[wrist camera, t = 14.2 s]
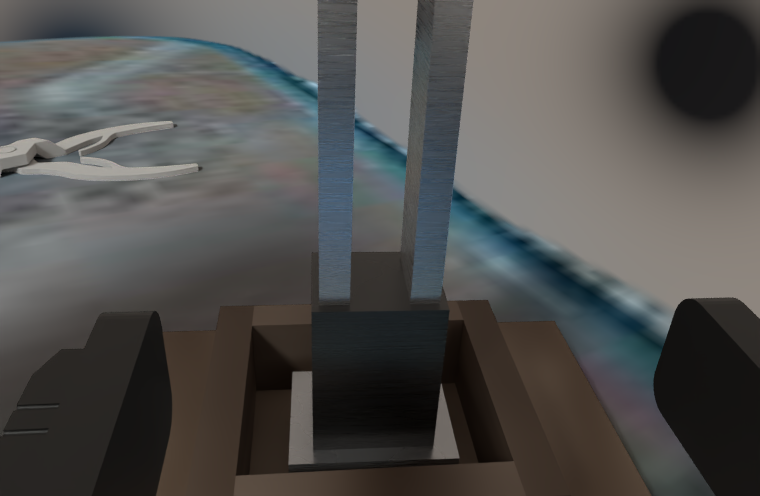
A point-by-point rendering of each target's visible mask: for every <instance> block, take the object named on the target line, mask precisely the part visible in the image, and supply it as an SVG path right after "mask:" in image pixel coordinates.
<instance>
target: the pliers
mask: <svg viewBox="0 0 760 496" xmlns="http://www.w3.org/2000/svg"><path fill="white" fill-rule="evenodd" d="M169 128H173V122H172V121H165V122H149V123H139V124H131V125H124V126H117V127H112V128H106V129H101V130H97V131H92V132H88V133H84V134H80V135H77V136H74V137H71V138H68V139H65V140H63V141H61V142H58V143H56V144H54V143H52V142H50V141H48V140H43V139H38V138H30V139H24V140H19V141H16V142H14V143H12V144H10V145H7V146H1V147H0V176H1V172H15V173H19V174H22V175H28V174H45V175H57V176H62V177H67V178H72V179H79V180H90V181H128V180H144V179H155V178H163V177H171V176H176V175H182V174H187V173H192V172H197V171H198V165H197V164H185V165H173V166H160V167H137V168H126V167H123V166H120V165H118V164H116V163H114V162H112V161H108V160H105V159H99V158H92V157H81V158H80V161H81V163H84V164H93V165H99V166H103V167H95V166H89V165H82V164H77V163H71V162H45V163H38V162H37V161H36V160H34V159H33V157H34V156H35V157H41V158H45V159H48V158H53V157H58V156H63V155H67V154H69V153H72V152H74V151H76V150H78V149H81V148H83V147H86V146H88V145H91V144H93V143H96V144H94V145H91V146H89V147H86V148H84V149H81V150H78V151H79V155H80V156H84V155H87V154H90V153H92V152H95V151H97V150H100V149H102V148H103V147H105V146H106V145H107V144H108V143H109V142H110V141H111V140H113V139H114V138H117V137H121V136H126V135H131V134H136V133H142V132H148V131H155V130H161V129H169Z"/></svg>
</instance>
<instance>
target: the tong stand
mask: <svg viewBox="0 0 760 496" xmlns="http://www.w3.org/2000/svg"><path fill="white" fill-rule="evenodd" d="M447 303H448V306H449V310H450V312H449V320H448V328H447V337H446V345H445V354H444V362H443V370H442V379H441V384H442V388H443V392H444V396H445V400H446V405H447V409H448V413H449V417H450V421H451V425H452V429H453V433H454V437H455V441H456V445H457V450H458V454H459V458H460V459H459V464H451V465H432V466H413V467H394V468H375V469H355V470H336V471H317V472H298V473H289V467H288V463H289V440H290V418H291V396H292V374H293V372H304V371H312V323H311V304H301V305H259V306H220V312H219V317H218V323H217V328H216V330H210V331H174V332H163V339H164V345H165V352H166V358H167V365H168V371H169V378H170V384H171V391H172V424H171V431H170V437H169V441H168V445H167V450H166V454H165V459H164V463H163V467H162V472H161V476H160V481H159V485H158V489H157V494H156V496H651V494H650V492H649V490H648V488H647V487H646V485H645V483H644V481H643V479H642V478H641V476H640V474H639V472H638V470H637V469H636V467H635V465H634V463H633V461H632V460H631V458H630V456H629V454H628V452H627V451H626V449H625V447H624V445H623V443H622V442H621V440H620V438H619V436H618V434H617V433H616V431H615V429H614V427H613V425H612V424H611V422H610V420H609V418H608V416H607V415H606V413H605V411H604V409H603V407H602V406H601V404H600V402H599V400H598V398H597V397H596V395H595V393H594V391H593V389H592V388H591V386H590V384H589V382H588V380H587V379H586V377H585V375H584V373H583V371H582V370H581V368H580V366H579V364H578V362H577V361H576V359H575V357H574V355H573V353H572V352H571V350H570V348H569V346H568V344H567V343H566V341H565V339H564V337H563V336H562V334H561V332H560V330H559V328H558V327H557V325H556V323H555V321H533V322H497V321H496V318H495V316H494V314H493V311H492V309H491V307H490V304H489V302H488V300H469V301H447Z"/></svg>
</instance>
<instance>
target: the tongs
mask: <svg viewBox="0 0 760 496" xmlns="http://www.w3.org/2000/svg"><path fill="white" fill-rule="evenodd" d="M472 8H473V0H418V6H417V20H416V35H415V49H414V64H413V79H412V93H411V107H410V123H409V137H408V151H407V166H406V180H405V195H404V209H403V224H402V238H401V252H351V237H352V196H353V156H354V115H355V75H356V34H357V0H318V203H319V253H312V298H311V323H312V371H304V372H293V374H292V396H291V418H290V440H289V463H288V467H289V473H298V472H317V471H336V470H355V469H375V468H394V467H413V466H432V465H451V464H459V459H460V458H459V454H458V450H457V445H456V441H455V437H454V433H453V429H452V425H451V421H450V417H449V413H448V409H447V405H446V400H445V396H444V392H443V388H442V384H441V379H442V370H443V362H444V354H445V345H446V337H447V328H448V320H449V312H450V310H449V306H448V303H447V300H446V296H445V293H444V290H443V286H442V283H443V274H444V265H445V255H446V246H447V237H448V228H449V219H450V210H451V201H452V191H453V182H454V173H455V163H456V154H457V146H458V137H459V127H460V118H461V109H462V100H463V90H464V82H465V73H466V63H467V53H468V45H469V36H470V27H471V17H472Z"/></svg>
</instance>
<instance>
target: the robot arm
mask: <svg viewBox="0 0 760 496" xmlns="http://www.w3.org/2000/svg"><path fill="white" fill-rule="evenodd" d="M653 386H654V395H655V400H656V403H657V406H658V408H659V410H660V412H661V414H662V416H663V417H664V419H665V420H666V422H667V423H668V425H669V426H670V428H671V429H672V431H673V432H674V434H675V435H676V437H677V438H678V440H679V441H680V443H681V444H682V446H683V447H684V449H685V450H686V452H687V453H688V455H689V456H690V458H691V459H692V461H693V462H694V464H695V465H696V467H697V468H698V470H699V471H700V473H701V474H702V476H703V477H704V479H705V480H706V482H707V483H708V485H709V486H710V488H711V489H712V491H713V492H714V494H715V495H716V496H760V319H759V318H758V317H757V316H756V315H755V314H754V313H753V312H752V311H751V310H750V309H749V308H748V307H747V306H746V305H745V304H744V303H743V302H741V301H740V300H738V299H736V298H698V299H697V298H696V299H685V300H683V301H682V302H681V303H680V304H679V305H678V307H677V308H676V311H675V313H674V316H673V319H672V322H671V325H670V328H669V331H668V335H667V338H666V341H665V344H664V347H663V350H662V353H661V356H660V359H659V362H658V365H657V368H656V371H655V374H654V384H653ZM171 424H172V391H171V384H170V378H169V371H168V365H167V358H166V352H165V345H164V339H163V332H162V326H161V321H160V317H159V314H158V313H157V312H156V311H149V312H110V313H102V314H100V316H99V317H98V319H97V321H96V323H95V326H94V328H93V330H92V332H91V335H90V337H89V339H88V341H87V344H86V346H85V348H84V349H61V350H60V351H59V352H58V353H57V354H56V355H54V356H53V357H52V358H51V359H50V360H49V361H48V362H47V363H45V364H44V365H43V366H42V367H41V368H40V369H39V370H38V371H36V372H35V373H34V374H33V375H32V377H31V379H30V381H29V382H28V384H27V386H26V388H25V390H24V392H23V394H22V396H21V398H20V400H19V402H18V403H17V410H16V411H13V413H12V415H11V417H10V419H9V421H8V423H7V424H6V426H5V428H4V435H3V437H0V496H156V494H157V489H158V485H159V481H160V476H161V472H162V467H163V463H164V459H165V454H166V450H167V445H168V441H169V437H170V431H171Z"/></svg>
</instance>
